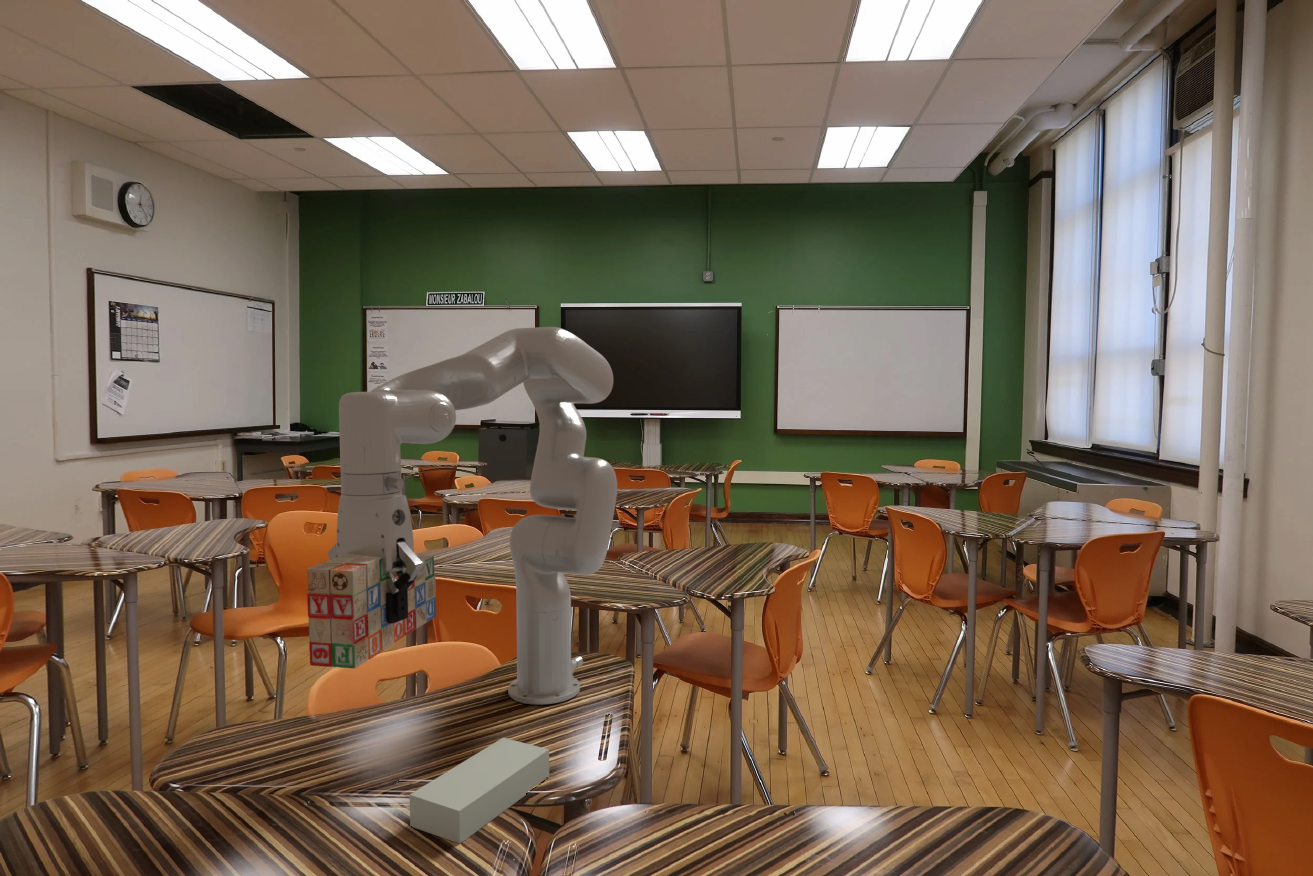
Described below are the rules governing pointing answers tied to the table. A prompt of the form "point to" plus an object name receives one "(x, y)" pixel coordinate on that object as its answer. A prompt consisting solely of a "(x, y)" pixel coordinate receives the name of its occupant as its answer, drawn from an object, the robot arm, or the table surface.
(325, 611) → the stack of blocks
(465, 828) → the base block
